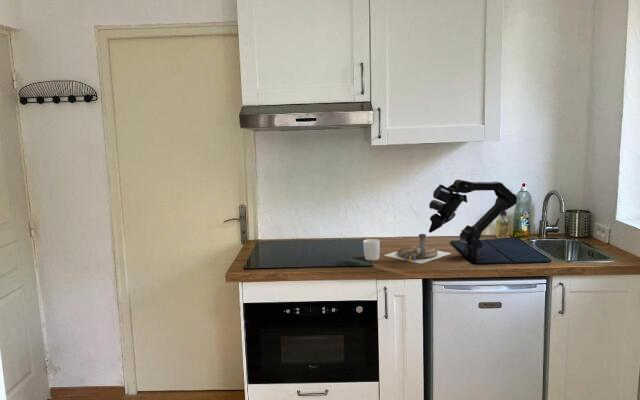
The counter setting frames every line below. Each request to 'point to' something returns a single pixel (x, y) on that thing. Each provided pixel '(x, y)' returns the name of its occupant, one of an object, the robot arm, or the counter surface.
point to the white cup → (371, 249)
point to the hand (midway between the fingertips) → (433, 229)
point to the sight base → (395, 255)
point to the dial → (418, 250)
